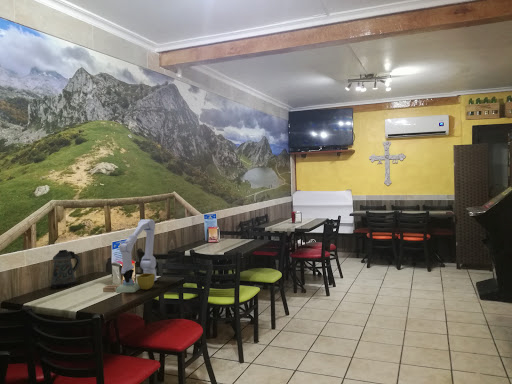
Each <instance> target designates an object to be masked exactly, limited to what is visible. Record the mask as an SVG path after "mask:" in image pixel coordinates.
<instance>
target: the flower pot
mask: <svg viewBox="0 0 512 384" xmlns="http://www.w3.org/2000/svg"><path fill="white" fill-rule="evenodd" d="M154 279H155V274H150V273H144V272H143V273H142V274H138V275H137V276H136V281H137V282H136V283H138V285H139V287H140V290H149V289H152V287H153V286H154V284H155V281H154Z"/></svg>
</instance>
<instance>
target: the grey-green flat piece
mask: <svg viewBox="0 0 512 384" xmlns="http://www.w3.org/2000/svg"><path fill="white" fill-rule="evenodd" d="M119 285H120V286H119V287H117V289H116V293H117V294H118V293H120V294H121V293H136V292H137V291H138V290H141V288H140V287H139V285H138V282H134V285H123V283H122V284H119Z"/></svg>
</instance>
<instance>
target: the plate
mask: <svg viewBox="0 0 512 384" xmlns="http://www.w3.org/2000/svg"><path fill="white" fill-rule="evenodd" d="M134 283H135V282H134V280H133V278H132V279H131V278H130V279H129V283H126V282H125V279H124V280H123V281H122V284H123V285H134Z"/></svg>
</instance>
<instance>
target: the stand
mask: <svg viewBox="0 0 512 384" xmlns="http://www.w3.org/2000/svg"><path fill="white" fill-rule="evenodd" d="M120 285H121V284H107V285H105V286H104V287H103V288H102V292H103V293H105V292H106V293H107V292H109V293H113V292H116V289H117V287H119V286H120Z"/></svg>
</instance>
